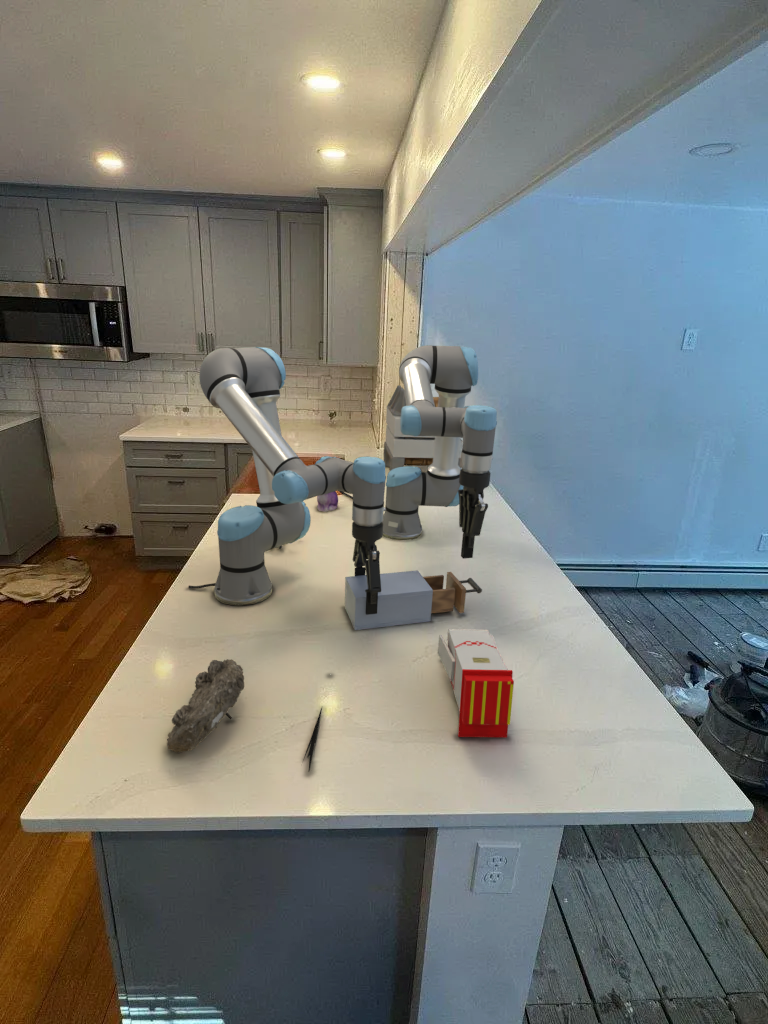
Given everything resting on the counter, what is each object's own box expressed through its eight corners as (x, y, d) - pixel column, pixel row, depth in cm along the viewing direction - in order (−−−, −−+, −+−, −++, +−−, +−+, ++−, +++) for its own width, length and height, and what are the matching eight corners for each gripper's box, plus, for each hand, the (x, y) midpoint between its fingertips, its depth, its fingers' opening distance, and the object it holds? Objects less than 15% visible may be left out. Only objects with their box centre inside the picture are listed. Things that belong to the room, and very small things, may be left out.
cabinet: (415, 599, 155) (417, 570, 152) (430, 621, 145) (433, 590, 142) (344, 607, 150) (345, 576, 146) (354, 630, 139) (355, 597, 136)
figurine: (320, 513, 215) (320, 475, 210) (311, 505, 224) (311, 468, 219) (343, 510, 219) (344, 473, 214) (333, 502, 228) (333, 466, 223)
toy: (488, 613, 130) (523, 677, 101) (484, 667, 133) (517, 744, 104) (435, 612, 130) (455, 676, 101) (432, 666, 133) (451, 743, 103)
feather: (331, 679, 122) (336, 673, 122) (307, 777, 96) (313, 769, 95) (324, 675, 122) (329, 669, 121) (298, 772, 95) (304, 764, 95)
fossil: (192, 660, 117) (244, 628, 112) (224, 691, 120) (276, 661, 115) (142, 746, 98) (202, 712, 93) (182, 779, 101) (242, 748, 96)
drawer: (467, 592, 158) (469, 569, 156) (483, 610, 149) (486, 586, 147) (384, 601, 152) (385, 577, 149) (395, 620, 142) (397, 596, 140)
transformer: (382, 463, 289) (386, 382, 275) (445, 464, 293) (451, 384, 279) (390, 482, 257) (394, 392, 243) (460, 483, 261) (468, 394, 247)
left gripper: (397, 539, 127) (393, 624, 134) (370, 504, 148) (367, 579, 156) (364, 541, 125) (362, 627, 132) (342, 506, 146) (340, 581, 154)
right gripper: (501, 476, 135) (490, 566, 143) (478, 462, 147) (469, 546, 155) (472, 477, 133) (463, 568, 141) (451, 463, 145) (444, 548, 153)
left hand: (365, 601), depth 144 cm, fingers closed on cabinet, 11 cm apart
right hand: (466, 556), depth 148 cm, fingers closed
